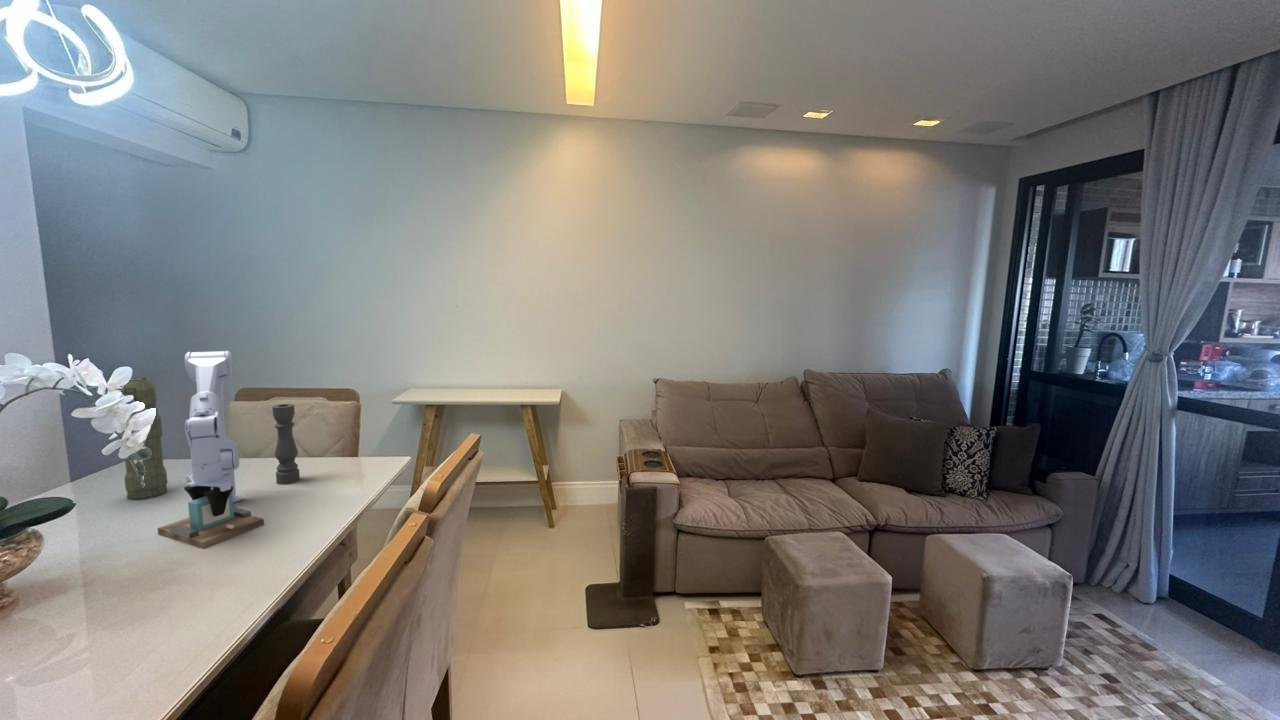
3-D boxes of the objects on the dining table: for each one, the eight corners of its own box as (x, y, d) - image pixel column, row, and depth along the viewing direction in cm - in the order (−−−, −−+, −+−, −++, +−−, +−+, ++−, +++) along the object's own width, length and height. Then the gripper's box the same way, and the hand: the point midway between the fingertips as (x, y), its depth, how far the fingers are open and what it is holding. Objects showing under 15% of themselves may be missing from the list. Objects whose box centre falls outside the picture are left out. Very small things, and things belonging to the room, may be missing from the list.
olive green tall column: (120, 504, 143) (106, 383, 139) (133, 490, 153) (121, 376, 149) (162, 498, 148) (150, 381, 143) (172, 484, 158) (161, 374, 153)
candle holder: (303, 480, 165) (298, 405, 162) (281, 485, 160) (276, 408, 156) (294, 476, 168) (289, 402, 165) (273, 481, 163) (267, 406, 160)
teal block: (190, 528, 128) (188, 501, 127) (225, 515, 135) (223, 490, 134) (199, 530, 127) (196, 504, 126) (234, 517, 134) (232, 492, 133)
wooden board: (158, 533, 127) (157, 523, 127) (220, 511, 140) (219, 502, 140) (203, 548, 121) (202, 537, 121) (263, 524, 134) (263, 514, 134)
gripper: (170, 462, 127) (175, 513, 129) (206, 471, 122) (211, 524, 124) (202, 454, 134) (206, 503, 136) (238, 462, 129) (242, 512, 131)
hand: (210, 512), depth 130 cm, fingers open, 6 cm apart
